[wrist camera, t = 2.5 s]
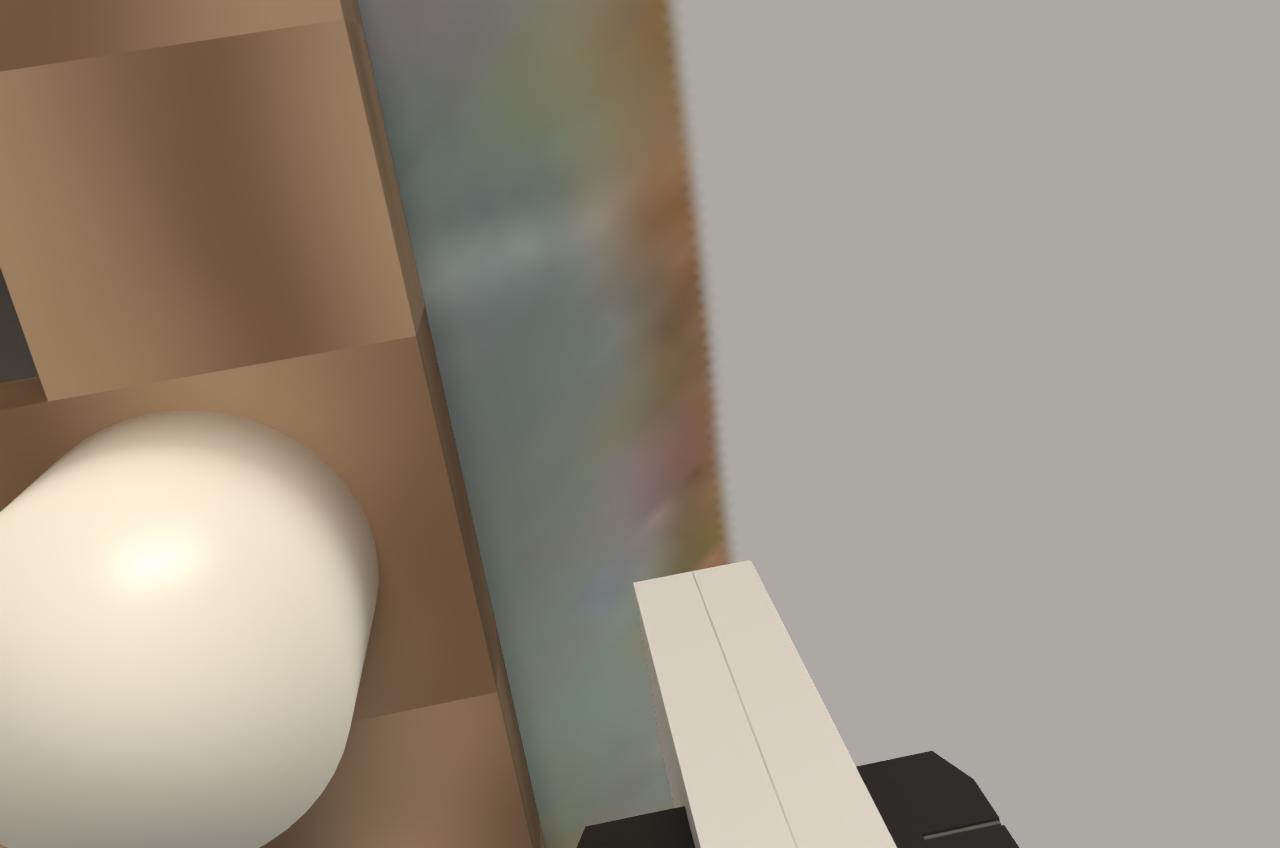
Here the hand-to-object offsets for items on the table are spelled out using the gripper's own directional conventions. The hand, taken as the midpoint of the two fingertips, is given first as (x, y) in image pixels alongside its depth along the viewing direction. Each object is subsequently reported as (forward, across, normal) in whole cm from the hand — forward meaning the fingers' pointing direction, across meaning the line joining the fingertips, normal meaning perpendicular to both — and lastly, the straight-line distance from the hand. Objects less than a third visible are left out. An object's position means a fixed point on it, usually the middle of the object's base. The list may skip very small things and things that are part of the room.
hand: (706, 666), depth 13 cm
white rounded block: (+6, -8, 0) cm, 10 cm away
